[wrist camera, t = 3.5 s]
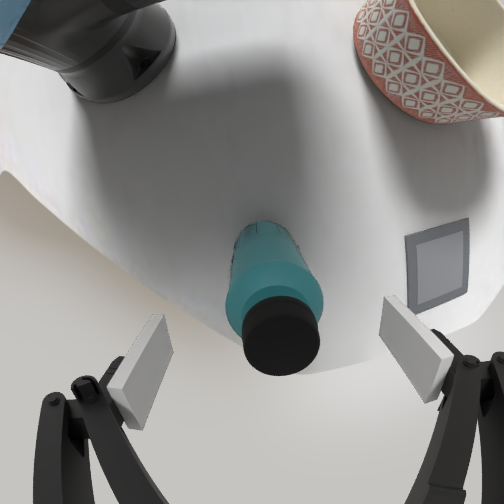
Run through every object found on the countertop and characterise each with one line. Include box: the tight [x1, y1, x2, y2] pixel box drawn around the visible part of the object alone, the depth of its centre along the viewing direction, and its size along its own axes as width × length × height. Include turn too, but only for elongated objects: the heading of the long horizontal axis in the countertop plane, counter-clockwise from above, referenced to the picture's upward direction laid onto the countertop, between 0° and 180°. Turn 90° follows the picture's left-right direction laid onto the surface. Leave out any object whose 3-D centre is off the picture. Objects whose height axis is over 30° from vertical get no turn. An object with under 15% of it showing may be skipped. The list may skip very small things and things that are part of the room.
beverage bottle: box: [226, 222, 323, 376], centre depth 23 cm, size 6×7×20 cm
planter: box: [353, 0, 504, 124], centre depth 18 cm, size 19×19×15 cm
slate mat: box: [405, 218, 469, 314], centre depth 33 cm, size 12×12×1 cm
